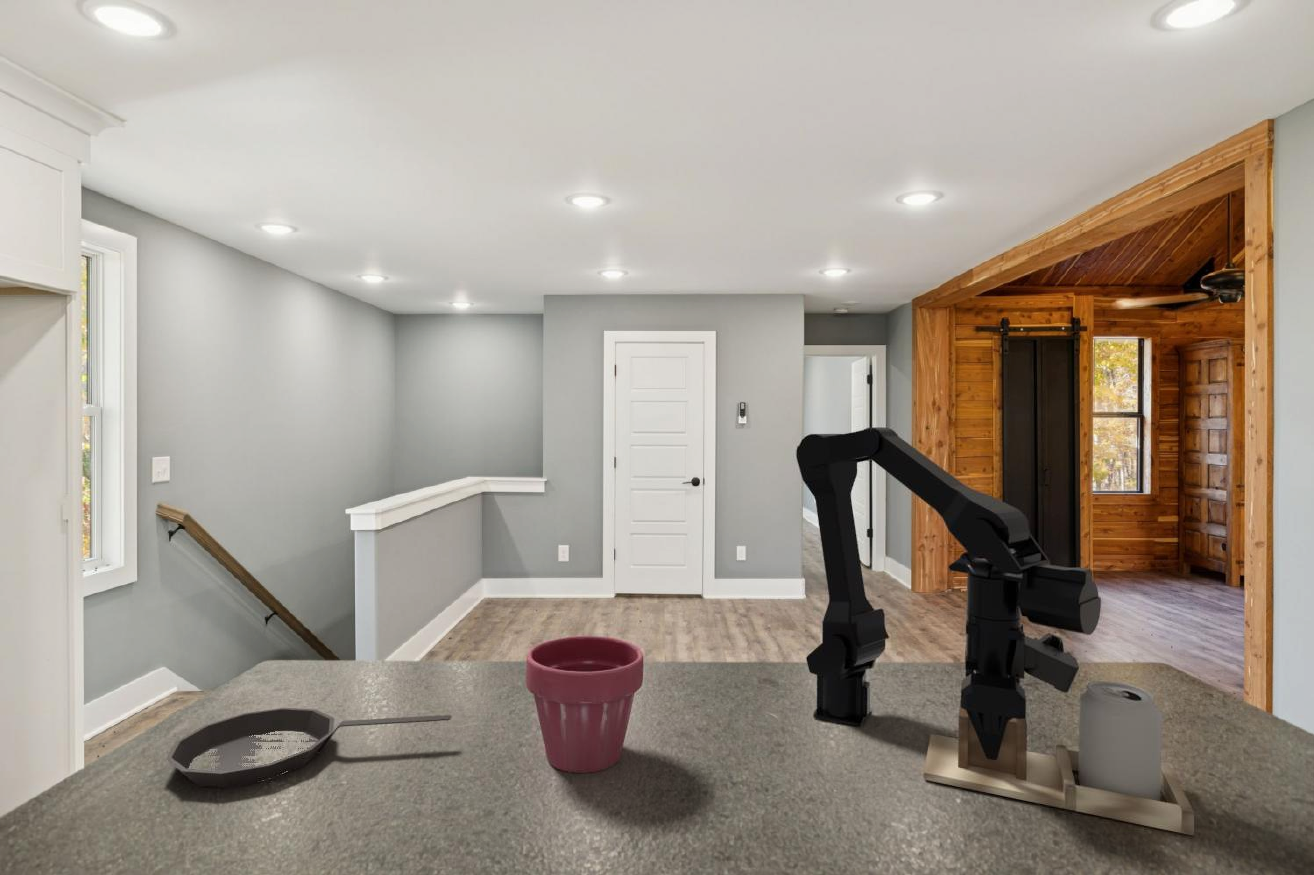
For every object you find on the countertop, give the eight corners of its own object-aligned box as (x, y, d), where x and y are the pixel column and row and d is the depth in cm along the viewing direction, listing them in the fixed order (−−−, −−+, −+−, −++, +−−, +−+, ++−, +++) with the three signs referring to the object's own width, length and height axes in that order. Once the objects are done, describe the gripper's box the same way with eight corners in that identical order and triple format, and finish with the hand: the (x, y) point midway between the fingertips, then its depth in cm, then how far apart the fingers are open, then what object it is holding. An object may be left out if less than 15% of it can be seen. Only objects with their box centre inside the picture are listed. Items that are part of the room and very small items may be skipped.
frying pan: (211, 731, 92) (211, 702, 92) (460, 716, 97) (460, 690, 97) (130, 803, 75) (130, 769, 75) (440, 782, 80) (439, 749, 79)
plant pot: (661, 743, 89) (662, 643, 89) (608, 796, 76) (608, 679, 76) (566, 722, 95) (566, 629, 95) (501, 768, 82) (501, 660, 82)
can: (1175, 821, 72) (1177, 705, 72) (1094, 812, 73) (1096, 699, 73) (1140, 784, 79) (1142, 679, 79) (1067, 777, 81) (1069, 674, 80)
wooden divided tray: (923, 779, 80) (924, 720, 80) (930, 740, 90) (931, 687, 89) (1193, 835, 69) (1194, 767, 69) (1168, 783, 79) (1169, 724, 79)
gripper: (1083, 647, 69) (1081, 802, 70) (1065, 603, 86) (1063, 729, 87) (961, 632, 74) (959, 777, 75) (966, 594, 91) (965, 712, 91)
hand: (991, 747), depth 82 cm, fingers open, 6 cm apart
